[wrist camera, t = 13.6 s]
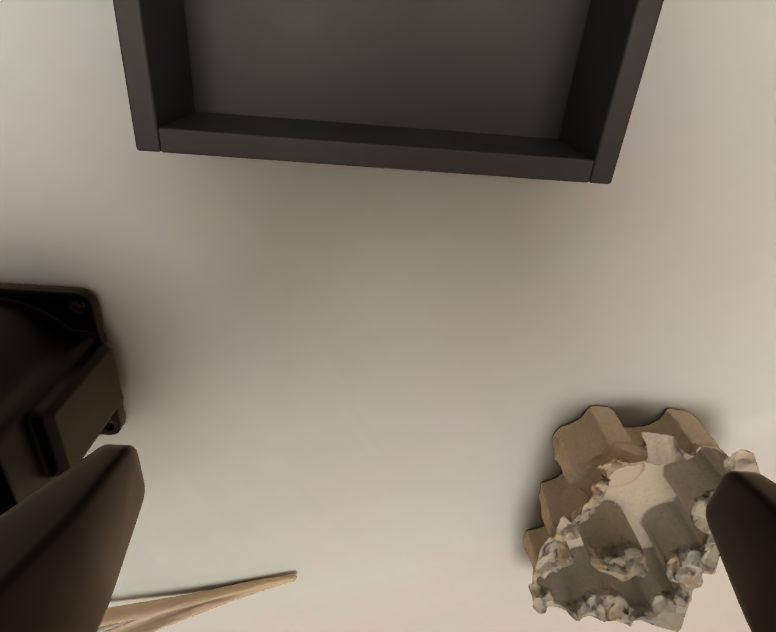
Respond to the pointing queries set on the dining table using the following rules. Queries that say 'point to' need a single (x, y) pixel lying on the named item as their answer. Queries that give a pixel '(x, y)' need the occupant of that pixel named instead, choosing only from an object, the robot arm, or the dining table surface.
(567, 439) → the egg carton
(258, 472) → the dining table surface
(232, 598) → the animal skull
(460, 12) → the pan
